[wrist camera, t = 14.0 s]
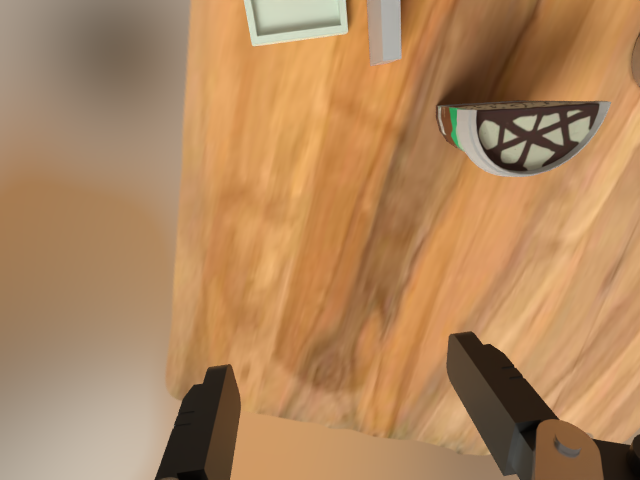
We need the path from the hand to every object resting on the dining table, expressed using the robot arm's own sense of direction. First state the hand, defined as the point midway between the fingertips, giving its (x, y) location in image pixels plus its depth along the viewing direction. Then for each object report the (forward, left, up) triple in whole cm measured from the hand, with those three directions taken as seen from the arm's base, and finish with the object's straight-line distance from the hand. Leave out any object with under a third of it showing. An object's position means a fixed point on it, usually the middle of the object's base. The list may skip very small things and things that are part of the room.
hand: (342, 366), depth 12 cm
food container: (-19, -3, -28) cm, 34 cm away
